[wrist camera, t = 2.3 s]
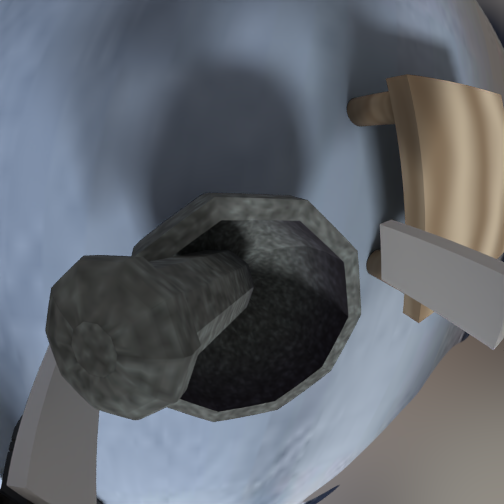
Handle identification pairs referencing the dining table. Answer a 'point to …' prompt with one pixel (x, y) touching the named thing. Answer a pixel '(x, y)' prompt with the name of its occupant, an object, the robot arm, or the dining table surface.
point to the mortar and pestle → (209, 311)
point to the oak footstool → (443, 162)
